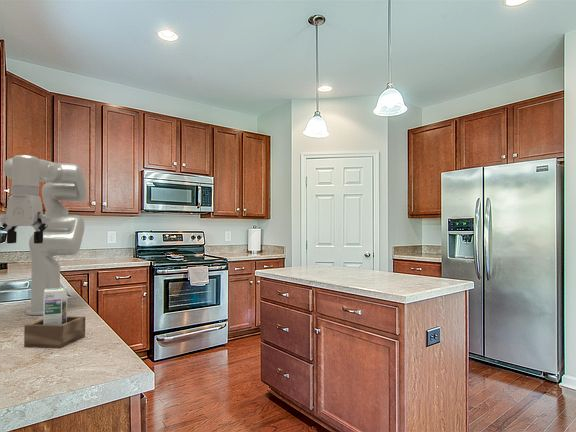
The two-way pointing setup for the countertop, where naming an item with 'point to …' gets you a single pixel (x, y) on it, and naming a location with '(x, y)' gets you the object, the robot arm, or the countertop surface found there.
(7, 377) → the countertop surface
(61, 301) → the syrup box
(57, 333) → the walnut holder
